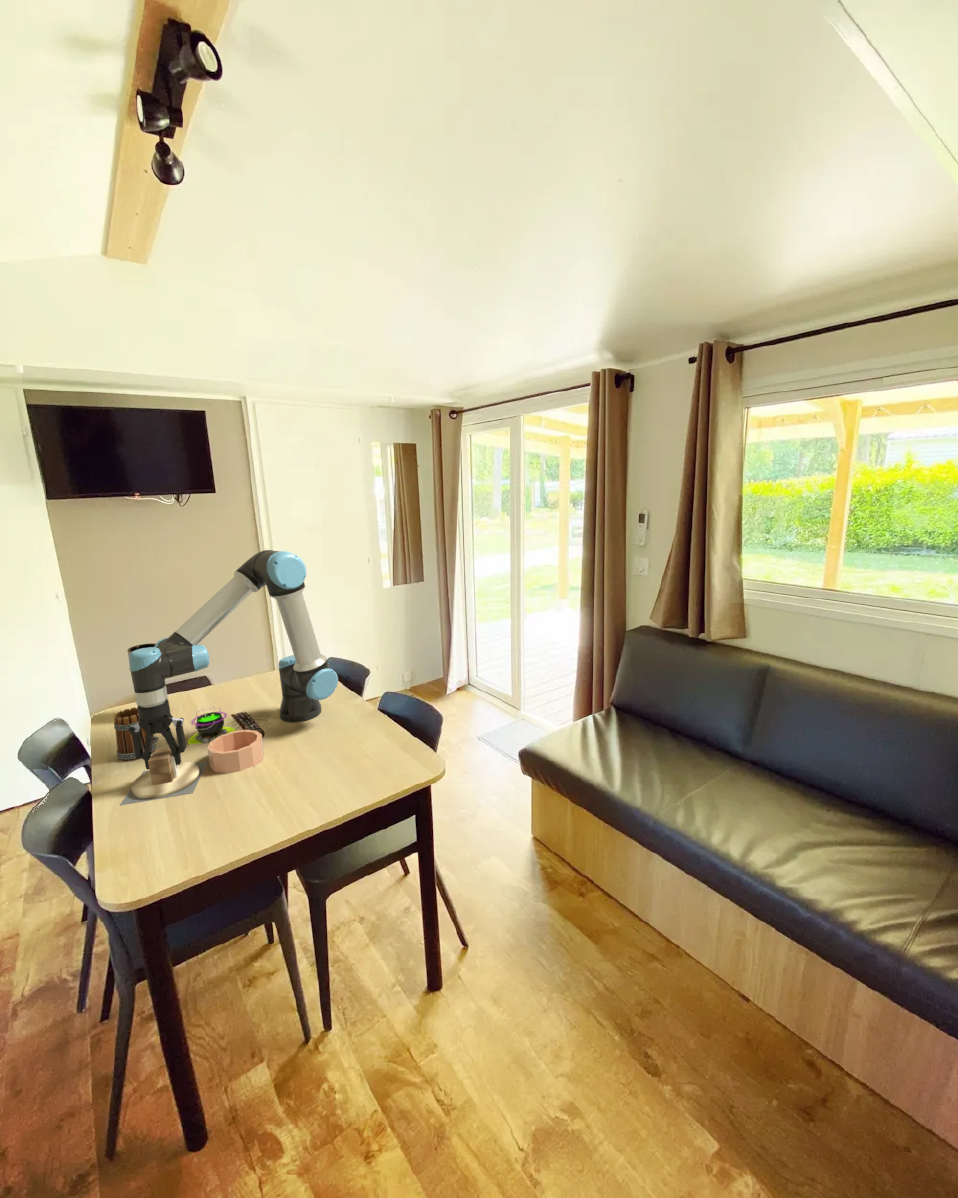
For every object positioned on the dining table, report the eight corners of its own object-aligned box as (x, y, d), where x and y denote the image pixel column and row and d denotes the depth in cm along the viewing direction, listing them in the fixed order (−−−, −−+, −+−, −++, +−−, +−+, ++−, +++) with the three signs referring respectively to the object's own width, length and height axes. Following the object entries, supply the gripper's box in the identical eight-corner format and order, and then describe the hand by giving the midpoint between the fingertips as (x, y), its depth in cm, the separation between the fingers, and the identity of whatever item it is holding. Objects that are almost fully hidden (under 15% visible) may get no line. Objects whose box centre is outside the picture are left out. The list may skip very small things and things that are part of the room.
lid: (205, 762, 158) (201, 736, 156) (191, 792, 142) (186, 763, 140) (144, 771, 154) (139, 744, 152) (122, 804, 138) (116, 774, 136)
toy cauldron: (181, 738, 176) (176, 709, 174) (225, 723, 187) (221, 695, 185) (196, 752, 166) (191, 721, 164) (242, 735, 177) (238, 706, 175)
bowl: (266, 746, 168) (264, 727, 167) (260, 769, 154) (257, 748, 153) (217, 753, 164) (214, 734, 163) (206, 778, 150) (202, 756, 149)
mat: (208, 763, 159) (208, 761, 159) (193, 795, 142) (192, 793, 142) (143, 773, 154) (143, 771, 154) (119, 807, 137) (119, 805, 137)
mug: (137, 764, 160) (129, 720, 156) (109, 762, 162) (101, 718, 159) (175, 740, 174) (168, 700, 171) (149, 738, 177) (142, 698, 173)
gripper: (191, 693, 149) (203, 764, 153) (121, 701, 144) (135, 775, 149) (184, 702, 141) (196, 777, 146) (110, 712, 137) (125, 789, 142)
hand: (165, 776), depth 148 cm, fingers closed on lid, 5 cm apart
